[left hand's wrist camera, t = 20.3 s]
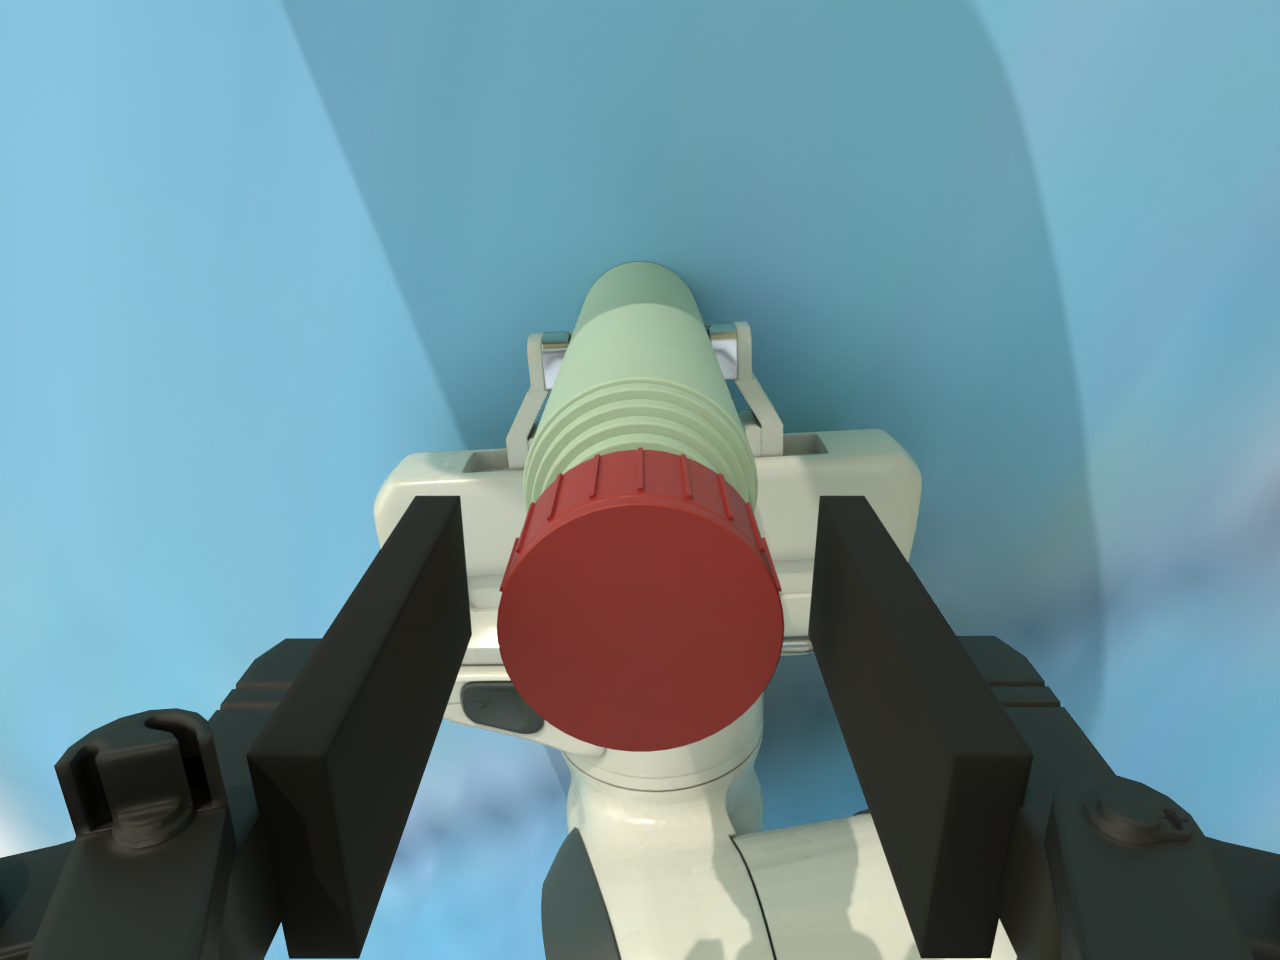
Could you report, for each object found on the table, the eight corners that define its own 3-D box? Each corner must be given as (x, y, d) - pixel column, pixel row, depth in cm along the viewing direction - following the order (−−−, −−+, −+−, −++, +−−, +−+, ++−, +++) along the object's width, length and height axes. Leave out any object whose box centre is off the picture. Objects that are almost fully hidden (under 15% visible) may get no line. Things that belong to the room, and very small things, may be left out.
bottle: (676, 392, 37) (735, 777, 14) (567, 358, 36) (446, 701, 14) (714, 283, 35) (852, 520, 12) (600, 245, 35) (527, 421, 12)
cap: (557, 409, 14) (540, 459, 11) (805, 490, 14) (836, 552, 12) (486, 630, 15) (460, 711, 13) (713, 695, 16) (726, 785, 14)
